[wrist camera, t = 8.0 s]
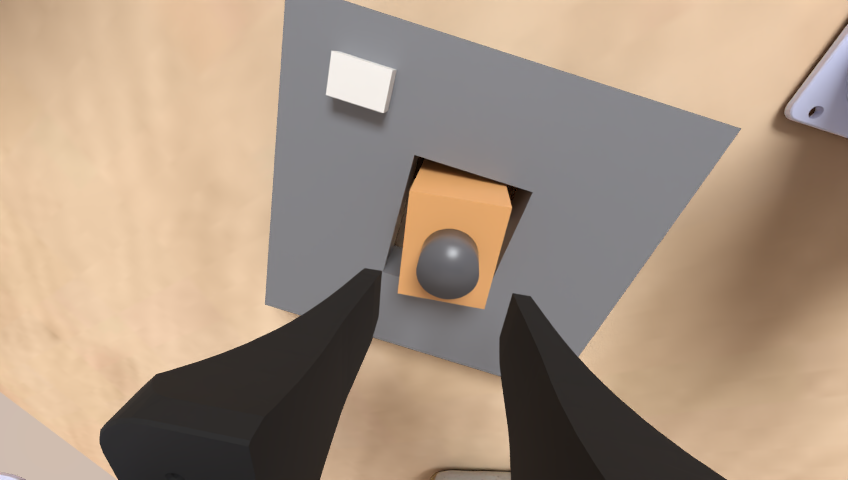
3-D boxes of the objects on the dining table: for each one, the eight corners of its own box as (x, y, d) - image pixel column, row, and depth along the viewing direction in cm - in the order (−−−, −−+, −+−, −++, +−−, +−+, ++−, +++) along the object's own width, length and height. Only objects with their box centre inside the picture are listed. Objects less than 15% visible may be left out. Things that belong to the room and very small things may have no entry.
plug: (501, 168, 18) (516, 224, 12) (481, 250, 20) (485, 332, 14) (426, 156, 18) (402, 204, 12) (415, 238, 21) (390, 314, 14)
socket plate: (696, 117, 16) (756, 132, 12) (543, 354, 23) (555, 403, 20) (318, -5, 15) (275, -23, 12) (288, 276, 23) (257, 313, 20)
